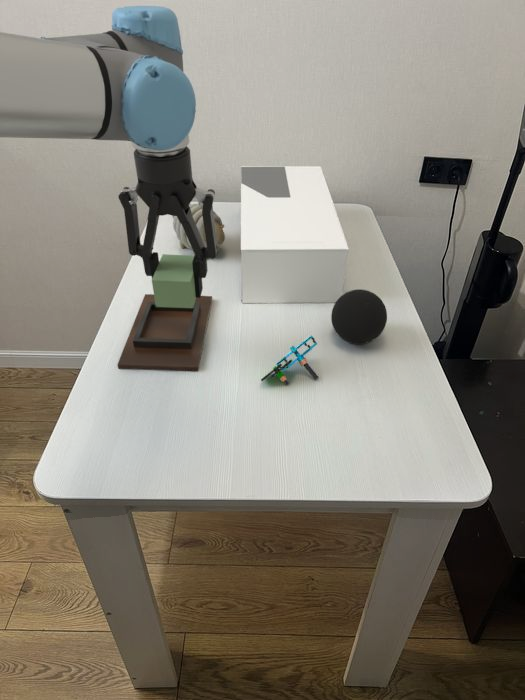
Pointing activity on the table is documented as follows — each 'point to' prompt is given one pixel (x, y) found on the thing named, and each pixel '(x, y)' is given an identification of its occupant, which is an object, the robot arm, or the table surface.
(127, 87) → the robot arm
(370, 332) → the speaker
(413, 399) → the table surface
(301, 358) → the stick construction toy
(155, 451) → the table surface
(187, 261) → the green rectangular block
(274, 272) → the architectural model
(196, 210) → the toy sheep
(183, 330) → the back board
